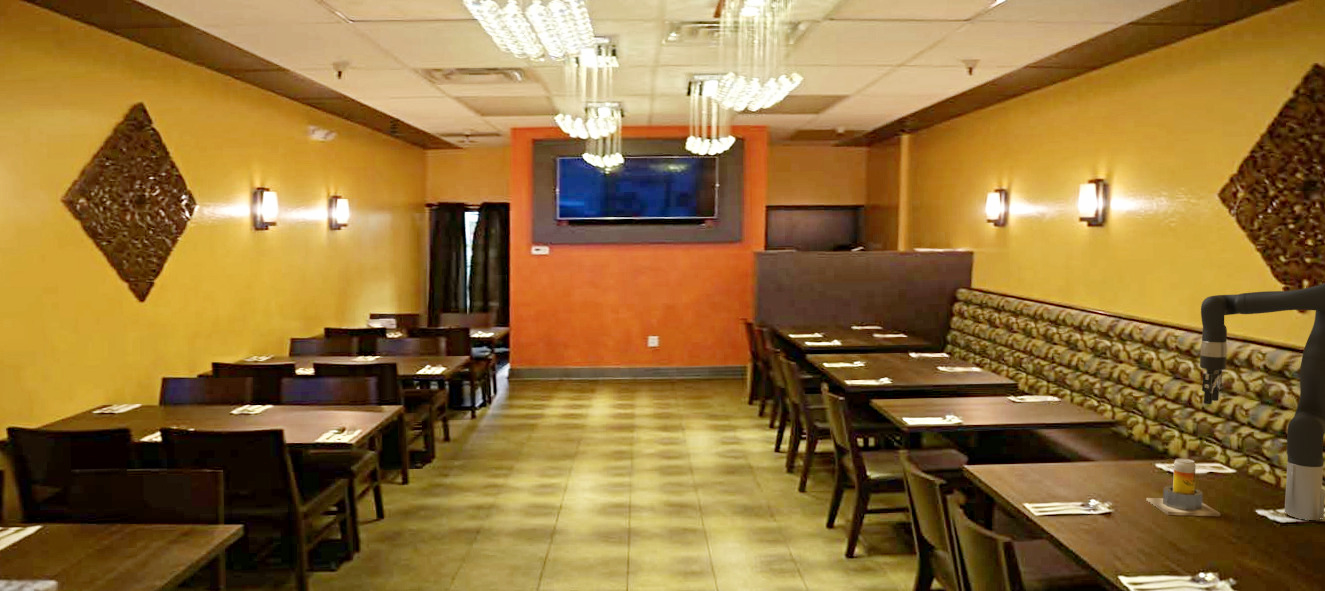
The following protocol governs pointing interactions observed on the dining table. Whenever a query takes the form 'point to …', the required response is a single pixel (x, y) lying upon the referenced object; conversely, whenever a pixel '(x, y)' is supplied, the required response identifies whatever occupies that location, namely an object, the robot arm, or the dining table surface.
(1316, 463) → the robot arm
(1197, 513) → the birch board
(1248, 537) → the dining table surface
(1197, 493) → the gray faceted bowl
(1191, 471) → the beer can
